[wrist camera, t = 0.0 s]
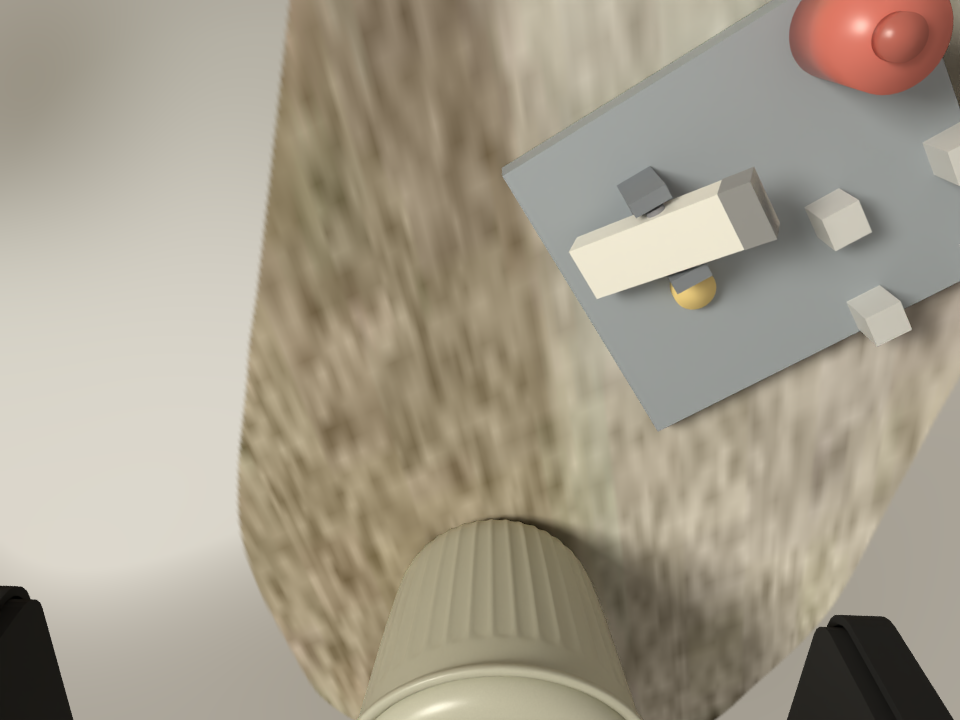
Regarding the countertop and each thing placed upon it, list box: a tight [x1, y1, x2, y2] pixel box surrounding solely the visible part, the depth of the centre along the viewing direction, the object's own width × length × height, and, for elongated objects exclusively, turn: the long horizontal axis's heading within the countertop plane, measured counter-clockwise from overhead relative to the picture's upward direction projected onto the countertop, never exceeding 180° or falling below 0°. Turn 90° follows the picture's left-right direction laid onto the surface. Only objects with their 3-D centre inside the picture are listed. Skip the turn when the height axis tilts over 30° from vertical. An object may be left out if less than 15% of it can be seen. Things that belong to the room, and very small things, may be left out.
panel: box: [502, 0, 960, 431], centre depth 42 cm, size 19×22×6 cm
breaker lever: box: [569, 167, 780, 299], centre depth 40 cm, size 4×10×2 cm, turn 122°
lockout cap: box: [789, 0, 953, 95], centre depth 36 cm, size 5×5×7 cm
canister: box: [357, 519, 643, 720], centre depth 48 cm, size 18×18×21 cm
